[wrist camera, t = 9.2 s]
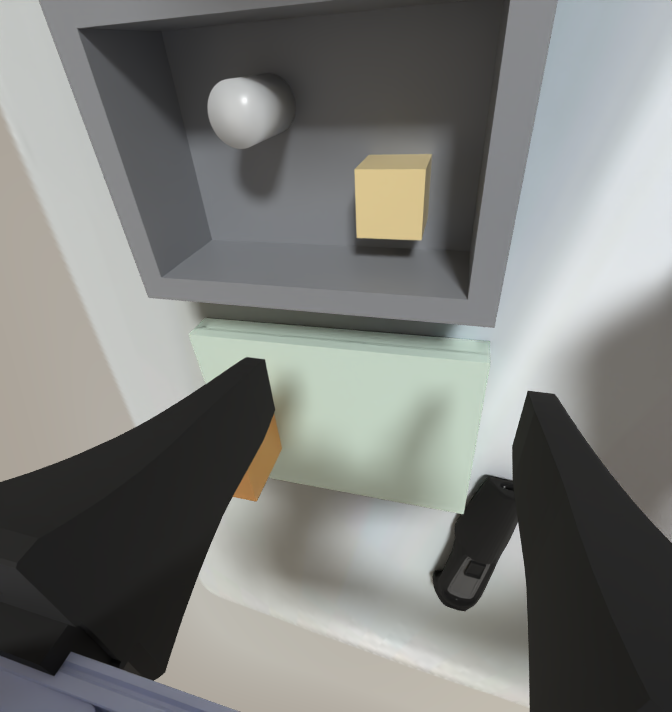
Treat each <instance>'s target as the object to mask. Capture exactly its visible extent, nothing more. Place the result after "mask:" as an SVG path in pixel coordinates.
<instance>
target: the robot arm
mask: <svg viewBox="0 0 672 712" xmlns="http://www.w3.org/2000/svg"><path fill="white" fill-rule="evenodd" d="M274 412H275V406H274V401H273V396H272V391H271V386H270V381H269V376H268V372H267V367H266V362H265V359H259V358H251V357H246V358H244V359H242V360H241V361H239V362H237V363H236V364H234V365H233V366H231V367H230V368H229V369H227V370H226V371H224V372H223V373H221V374H220V375H218V376H217V377H215V378H214V379H213V380H211V381H210V382H208V383H207V384H205V385H204V386H202V387H201V388H199V389H198V390H196V391H195V392H193V393H192V394H190V395H189V396H187V397H186V398H184V399H183V400H181V401H179V402H178V403H176V404H175V405H173V406H171V407H170V408H168V409H166V410H165V411H163V412H162V413H160V414H158V415H157V416H155V417H153V418H152V419H150V420H148V421H146V422H144V423H143V424H141V425H139V426H137V427H135V428H133V429H131V430H129V431H127V432H125V433H124V434H122V435H120V436H118V437H116V438H113V439H111V440H109V441H107V442H105V443H102V444H100V445H98V446H96V447H94V448H92V449H89V450H87V451H84V452H82V453H80V454H78V455H75V456H73V457H71V458H68V459H65V460H63V461H60V462H58V463H55V464H53V465H50V466H47V467H44V468H42V469H39V470H36V471H33V472H30V473H28V474H24V475H22V476H18V477H15V478H12V479H9V480H6V481H3V482H0V712H239V711H236V710H234V709H231V708H228V707H225V706H222V705H220V704H217V703H214V702H211V701H208V700H206V699H203V698H200V697H197V696H194V695H191V694H188V693H186V692H183V691H180V690H177V689H175V688H172V687H169V686H166V685H163V684H160V683H158V682H155V681H154V680H155V679H157V678H159V677H160V676H161V675H163V673H165V671H166V668H167V664H168V661H169V658H170V655H171V652H172V648H173V645H174V643H175V639H176V636H177V633H178V630H179V627H180V624H181V621H182V618H183V615H184V613H185V610H186V607H187V604H188V601H189V599H190V596H191V593H192V590H193V588H194V585H195V582H196V580H197V577H198V575H199V572H200V570H201V567H202V564H203V562H204V559H205V557H206V554H207V552H208V549H209V547H210V544H211V542H212V540H213V537H214V535H215V533H216V530H217V528H218V526H219V523H220V521H221V519H222V516H223V514H224V512H225V510H226V508H227V506H228V504H229V502H230V501H231V499H232V497H233V495H234V493H235V492H236V490H237V488H238V486H239V484H240V483H241V481H242V479H243V477H244V475H245V473H246V472H247V470H248V468H249V466H250V464H251V463H252V461H253V459H254V457H255V455H256V454H257V452H258V450H259V448H260V446H261V444H262V442H263V440H264V438H265V436H266V433H267V431H268V428H269V426H270V423H271V420H272V418H273V415H274ZM512 462H513V487H514V495H515V502H516V509H517V517H518V524H519V531H520V538H521V545H522V552H523V559H524V566H525V576H526V587H527V611H528V641H529V688H530V712H672V543H671V542H670V541H669V540H668V539H667V538H666V537H665V536H664V535H663V534H662V533H661V531H660V530H659V529H658V528H657V527H656V526H655V525H654V524H653V523H652V522H651V521H650V520H649V519H648V518H647V517H646V515H645V514H644V513H643V512H642V511H641V510H640V509H639V507H638V506H637V505H636V504H635V503H634V502H633V501H632V499H631V498H630V497H629V496H628V495H627V493H626V492H625V491H624V490H623V488H622V487H621V486H620V485H619V484H618V482H617V481H616V480H615V479H614V477H613V476H612V475H611V474H610V472H609V471H608V470H607V468H606V467H605V466H604V464H603V463H602V462H601V460H600V459H599V458H598V456H597V455H596V454H595V452H594V451H593V450H592V448H591V447H590V445H589V444H588V443H587V441H586V440H585V438H584V437H583V436H582V434H581V433H580V431H579V430H578V428H577V427H576V425H575V424H574V422H573V421H572V419H571V418H570V416H569V415H568V413H567V412H566V410H565V408H564V407H563V405H562V404H561V402H560V401H559V399H558V398H557V397H556V395H555V394H550V393H542V392H534V391H528V392H527V396H526V399H525V403H524V407H523V410H522V414H521V417H520V421H519V424H518V428H517V432H516V435H515V439H514V442H513V446H512Z"/></svg>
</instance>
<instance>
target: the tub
mask: <svg viewBox="0 0 672 712" xmlns="http://www.w3.org/2000/svg"><path fill="white" fill-rule="evenodd" d="M39 2H40V5H41V8H42V11H43V13H44V16H45V19H46V21H47V24H48V27H49V30H50V32H51V35H52V38H53V40H54V43H55V46H56V49H57V51H58V54H59V57H60V59H61V62H62V65H63V67H64V70H65V73H66V76H67V78H68V81H69V84H70V86H71V89H72V92H73V95H74V97H75V100H76V103H77V105H78V108H79V111H80V114H81V116H82V119H83V122H84V124H85V127H86V130H87V132H88V135H89V138H90V141H91V143H92V146H93V149H94V151H95V154H96V157H97V160H98V162H99V165H100V168H101V170H102V173H103V176H104V179H105V181H106V184H107V187H108V189H109V192H110V195H111V198H112V200H113V203H114V206H115V208H116V211H117V214H118V216H119V219H120V222H121V225H122V227H123V230H124V233H125V235H126V238H127V241H128V244H129V246H130V249H131V252H132V254H133V257H134V260H135V263H136V265H137V268H138V271H139V273H140V276H141V279H142V281H143V284H144V287H145V290H146V292H147V295H148V298H158V299H169V300H181V301H192V302H204V303H215V304H227V305H238V306H250V307H262V308H273V309H285V310H296V311H308V312H319V313H331V314H342V315H354V316H365V317H377V318H388V319H400V320H411V321H423V322H435V323H446V324H458V325H469V326H481V327H492V328H494V327H495V322H496V317H497V312H498V306H499V301H500V296H501V291H502V286H503V281H504V275H505V270H506V265H507V260H508V255H509V250H510V244H511V239H512V234H513V229H514V224H515V219H516V214H517V208H518V203H519V198H520V193H521V188H522V183H523V177H524V172H525V167H526V162H527V157H528V152H529V146H530V141H531V136H532V131H533V126H534V121H535V115H536V110H537V105H538V100H539V95H540V90H541V84H542V79H543V74H544V69H545V64H546V59H547V53H548V48H549V43H550V38H551V33H552V28H553V22H554V17H555V12H556V7H557V2H558V0H39Z"/></svg>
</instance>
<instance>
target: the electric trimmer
mask: <svg viewBox="0 0 672 712" xmlns="http://www.w3.org/2000/svg"><path fill="white" fill-rule="evenodd" d="M517 523H518V517H517V509H516V502H515V495H514V487H513V482H512V481H508V480H503V479H499V478H495V477H489V478H488V479H487V480H486V481H485V482H484V484H483V485H482V486H481V488H480V489H479V490H478V492H477V493H476V494H475V496H474V497H473V499H472V500H471V501H470V503H469V504H468V506H467V507H466V508H465V510H464V514H461V516H460V517H459V519H458V520H457V522H456V524H455V541H454V547H453V550H452V552H451V555H450V557H449V559H448V561H447V563H446V566H445V568H444V570H443V572H441V571H436V570H435V572H434V573H433V584H434V589H435V591H436V593H437V595H438V597H439V599H440V600H441V602H442V603H443V604H444V605H445V606H447V607H450V608H453V609H456V610H460V611H466V610H468V609H469V608H471V607H472V606H474V605H475V604H476V603H477V601H478V600H479V599H480V597H481V596H482V594H483V592H484V590H485V588H486V586H487V584H488V581H489V579H490V577H491V575H492V573H493V571H494V569H495V566H496V564H497V562H498V560H499V558H500V556H501V554H502V552H503V551H504V549H505V547H506V546H507V544H508V542H509V540H510V538H511V536H512V534H513V532H514V529H515V527H516V525H517Z"/></svg>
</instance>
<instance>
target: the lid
mask: <svg viewBox="0 0 672 712" xmlns="http://www.w3.org/2000/svg"><path fill="white" fill-rule="evenodd" d="M189 337H190V340H191V343H192V346H193V349H194V352H195V355H196V358H197V361H198V364H199V366H200V369H201V372H202V375H203V378H204V381H205V384H207V383H208V382H210V381H211V380H213V379H214V378H215V377H217V376H218V375H220V374H221V373H223V372H224V371H226V370H227V369H229V368H230V367H231V366H233V365H234V364H236V363H237V362H239V361H241V360H242V359H244V358H246V357H251V358H259V359H265V362H266V367H267V372H268V376H269V381H270V386H271V391H272V396H273V401H274V406H275V412H274V415H273V418H272V420H271V423H270V426H269V428H268V431H267V433H266V436H265V438H264V440H263V442H262V444H261V446H260V448H259V450H258V452H257V454H256V455H255V457H254V459H253V461H252V463H251V464H250V466H249V468H248V470H247V472H246V473H245V475H244V477H243V479H242V481H241V483H240V484H239V486H238V488H237V490H236V492H235V493H234V495H233V497H237V498H242V499H247V500H251V501H256V502H257V500H258V498H259V496H260V494H261V492H262V490H263V487H264V485H265V483H266V481H267V479H268V478H271V479H277V480H282V481H287V482H293V483H298V484H303V485H309V486H314V487H320V488H325V489H330V490H336V491H341V492H346V493H352V494H357V495H362V496H368V497H373V498H378V499H384V500H389V501H394V502H400V503H405V504H410V505H416V506H421V507H426V508H432V509H437V510H443V511H448V512H453V513H459V514H464V509H465V504H466V498H467V492H468V487H469V481H470V475H471V470H472V464H473V459H474V453H475V447H476V442H477V436H478V430H479V425H480V419H481V414H482V408H483V402H484V397H485V391H486V385H487V380H488V374H489V369H490V341H480V340H468V339H456V338H444V337H431V336H419V335H407V334H395V333H383V332H371V331H358V330H346V329H334V328H322V327H310V326H298V325H285V324H273V323H261V322H249V321H237V320H224V319H212V318H205V319H204V320H203V321H202V322H201V323H200V324H199V325H198V326H197V327H196V328H195V329H194V330H193V331H192V332H191V333H190V334H189Z"/></svg>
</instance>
